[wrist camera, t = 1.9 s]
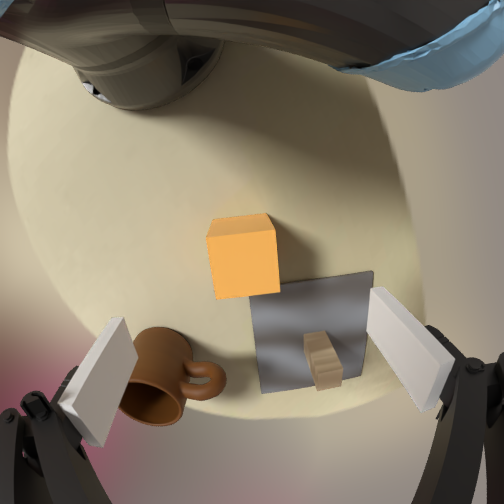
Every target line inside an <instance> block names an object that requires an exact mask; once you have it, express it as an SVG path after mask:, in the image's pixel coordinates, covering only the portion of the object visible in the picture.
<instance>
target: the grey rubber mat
mask: <svg viewBox="0 0 504 504" xmlns="http://www.w3.org/2000/svg"><path fill="white" fill-rule="evenodd" d="M372 280H373V271H366V272H359V273H353V274H346V275H340V276H333V277H326V278H319V279H311V280H304V281H297V282H289V283H281V284H280V292H277V293H269V294H261V295H253V296H249V299H250V307H251V315H252V323H253V331H254V339H255V347H256V355H257V362H258V370H259V378H260V385H261V393H262V394H264V393H272V392H280V391H287V390H293V389H299V388H305V387H311V386H316V389H317V391H320V390H325V389H330V388H335V387H339V386H341V383H342V380H345V379H350V378H354V377H358V376H361V371H362V365H363V359H364V353H365V346H366V339H367V331H366V329H367V321H368V311H369V300H370V288H372Z"/></svg>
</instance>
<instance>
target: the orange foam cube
mask: <svg viewBox="0 0 504 504" xmlns="http://www.w3.org/2000/svg"><path fill="white" fill-rule="evenodd" d="M206 241H207V248H208V254H209V260H210V266H211V272H212V278H213V284H214V290H215V295H216V300H217V299H226V298H235V297H244V296H253V295H261V294H269V293H277V292H280V282H279V268H278V256H277V243H276V231H275V228H274V226H273V224H272V223H271V221H270V219H269V217H268V216H267V214H266V213H264V214H255V215H247V216H238V217H230V218H221V219H214V220H212V223H211V226H210V228H209V231H208V234H207V236H206Z"/></svg>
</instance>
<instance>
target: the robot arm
mask: <svg viewBox="0 0 504 504" xmlns="http://www.w3.org/2000/svg"><path fill="white" fill-rule="evenodd" d="M0 36H1V37H4V38H6V39H9V40H12V41H15V42H17V43H20V44H22V45H25V46H27V47H30V48H32V49H35V50H37V51H40V52H42V53H44V54H47V55H49V56H51V57H54V58H56V59H58V60H61V61H63V62H65V63H67V64H70V65H72V66H73V68H74V70H75V72H76V73H77V75H78V77H79V79H80V80H81V82H82V84H83V85H84V87H85V88H86V89H87V91H88V92H89V93H90V94H92V95H93V96H94V97H95V98H97V99H98V100H100V101H102V102H104V103H107V104H109V105H112V106H114V107H117V108H121V109H127V110H144V109H151V108H155V107H159V106H162V105H165V104H168V103H170V102H173V101H175V100H177V99H179V98H181V97H182V96H184V95H186V94H187V93H189V92H190V91H191V90H193V89H194V88H195V87H196V86H198V85H199V84H200V83H201V82H202V81H203V80H204V79H205V78H206V77H207V76H208V75H209V73H210V72H211V71H212V69H213V68H214V66H215V65H216V63H217V61H218V59H219V57H220V55H221V53H222V49H223V46H224V40H227V41H234V42H240V43H246V44H252V45H258V46H263V47H268V48H272V49H277V50H281V51H285V52H289V53H292V54H296V55H300V56H303V57H306V58H310V59H313V60H316V61H319V62H322V63H325V64H328V66H330V67H332V68H333V69H336V70H337V71H340V72H342V73H347V74H357V75H363V76H366V77H369V78H372V79H374V80H377V81H379V82H382V83H384V84H387V85H389V86H392V87H395V88H398V89H401V90H405V91H411V92H425V91H429V90H432V89H448V88H452V87H454V86H457V85H459V84H462V83H464V82H467V81H469V80H471V79H473V78H475V77H476V76H478V75H479V74H481V73H482V72H484V71H485V70H487V69H488V68H489V67H491V65H492V64H494V63H495V62H496V61H497V60H498V59H499V58H500V57H501V56H502V55H503V54H504V0H0ZM366 331H367V333H368V334H369V336H370V337H371V339H372V340H373V342H374V343H375V344H376V346H377V347H378V349H379V350H380V352H381V353H382V355H383V356H384V358H385V359H386V360H387V362H388V363H389V365H390V366H391V368H392V369H393V371H394V372H395V374H396V375H397V377H398V378H399V380H400V381H401V383H402V384H403V386H404V388H405V389H406V390H407V392H408V394H409V395H410V397H411V398H412V400H413V401H414V403H415V405H416V406H417V408H418V409H419V411H420V413H422V412H425V411H427V410H429V409H432V408H434V407H435V406H436V404H437V402H438V400H439V398H440V399H441V400H442V402H443V405H442V407H441V409H440V411H439V413H438V415H437V417H436V419H438V418H439V420H438V424H437V428H436V432H435V436H434V440H433V444H432V447H431V450H430V454H429V457H428V460H427V463H426V466H425V469H424V472H423V475H422V478H421V480H420V483H419V486H418V489H417V491H416V494H415V496H414V498H413V501H412V503H411V504H471V503H472V499H473V495H474V491H475V487H476V483H477V479H478V474H479V469H480V463H481V458H482V451H483V444H484V449H485V459H486V475H487V504H504V352H503V353H502V354H500V356H499V358H498V361H497V362H495V363H490V364H484V362H483V361H481V360H480V359H477V358H466V357H465V356H464V355H463V354H462V353H461V352H460V351H459V350H458V349H457V348H456V347H455V346H454V345H453V344H452V343H451V342H449V340H448V339H447V338H446V337H444V335H443V334H442V333H441V332H440V331H439V330H438V329H436V328H434V327H432V326H430V325H427V326H423V325H422V324H421V323H420V322H419V321H418V320H417V319H416V318H415V317H414V316H413V315H412V314H411V313H410V312H409V311H408V310H407V309H406V308H405V307H404V306H403V305H402V304H401V303H400V302H399V301H398V300H397V299H396V298H395V297H394V296H393V295H392V294H391V293H390V292H388V291H387V290H386V289H385V288H384V287H383V286H381V287H375V288H370V300H369V311H368V321H367V329H366ZM137 360H138V355H137V352H136V350H135V347H134V345H133V342H132V339H131V337H130V334H129V331H128V328H127V325H126V323H125V320H124V317H113V318H111V319H110V321H109V322H108V324H107V325H106V326H105V328H104V329H103V331H102V332H101V334H100V335H99V337H98V338H97V340H96V342H95V343H94V344H93V346H92V347H91V349H90V350H89V352H88V354H87V355H86V357H85V359H84V360H83V362H82V363H81V365H80V366H76V367H74V368H73V369H72V370H71V371H70V372H69V373H68V374H67V376H66V378H65V381H63V382H62V384H61V386H60V387H59V389H58V391H57V392H56V394H55V395H54V397H53V399H52V400H51V402H50V403H49V401H48V400H47V398H46V397H45V395H44V394H43V393H42V392H40V391H32V392H30V393H28V394H26V395H25V396H24V397H23V399H22V401H21V404H20V406H21V407H22V409H23V410H24V412H25V413H26V414H27V416H21V415H20V413H19V412H18V411H17V410H16V409H15V408H8V409H6V410H4V411H3V412H2V413H1V415H0V504H112V503H111V501H110V499H109V498H108V496H107V494H106V492H105V490H104V489H103V487H102V485H101V483H100V481H99V479H98V477H97V475H96V473H95V471H94V469H93V467H92V465H91V463H90V461H89V459H88V456H87V455H86V452H85V450H84V448H83V446H82V445H81V444H80V442H81V440H82V437H83V439H84V440H85V441H86V442H87V443H88V444H89V445H91V446H96V447H102V448H103V447H104V444H105V441H106V438H107V436H108V433H109V430H110V427H111V425H112V422H113V419H114V417H115V414H116V411H117V409H118V406H119V404H120V401H121V399H122V396H123V394H124V391H125V389H126V386H127V384H128V381H129V379H130V376H131V374H132V371H133V369H134V367H135V364H136V362H137ZM22 451H23V452H24V457H23V454H22Z"/></svg>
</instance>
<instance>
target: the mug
mask: <svg viewBox="0 0 504 504" xmlns="http://www.w3.org/2000/svg"><path fill="white" fill-rule="evenodd" d="M133 345H134V347H135V350H136V352H137V355H138V360H137V362H136V364H135V367H134V369H133V371H132V374H131V376H130V379H129V381H128V384H127V386H126V389H125V391H124V394H123V396H122V399H121V401H120V404H119V406H118V408H119V409H120V410H121V411H122V412H123V413H124V414H126V415H127V416H129V417H130V418H132V419H133V420H136V421H138V422H140V423H143V424H146V425H151V426H168V425H172V424H174V423H176V422H177V421H178V420H179V419H180V418H181V417H182V414H183V411H184V407H185V404H186V400H187V398H188V399H193V400H199V401H203V400H208V399H211V398H213V397H216V396H218V395H219V394H220V393H221V392H222V391H223V389H224V387H225V385H226V381H227V378H226V374H225V372H224V370H223V369H222V368H221V367H220V366H219V365H217V364H215V363H213V362H207V361H204V362H194V361H193V353H192V349H191V347H190V345H189V343H188V342H187V341H186V340H185V339H184V338H183V337H182V336H181V335H180V334H178V333H177V332H175V331H173V330H170V329H167V328H163V327H153V328H148V329H145V330H143V331H142V332H141V333H139V334H138V335H137V337H136V338H135V340H134V342H133ZM190 377H193V378H201V377H209V378H210V379H211V380H210V381H209V382H208V383H206V384H203V385H198V384H191V383H189V382H190Z"/></svg>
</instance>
